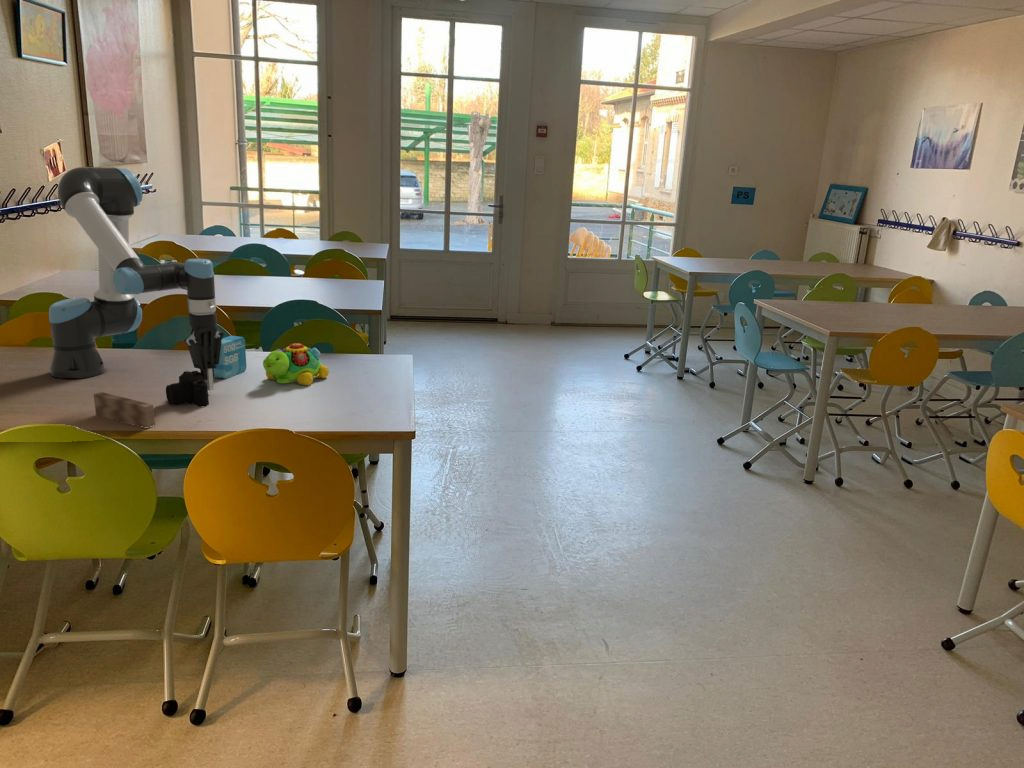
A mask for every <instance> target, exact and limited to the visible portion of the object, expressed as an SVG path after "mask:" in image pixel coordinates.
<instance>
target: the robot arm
mask: <svg viewBox="0 0 1024 768" xmlns="http://www.w3.org/2000/svg"><path fill="white" fill-rule="evenodd" d="M57 197H58V201H59V203H60V206H61V207H62V208H63V209H64V210H63V211H65V212H66V214H67V215H69V216H70V217H71V218H74V219H75V220H76V221H77V223H78V224H79V225H80V227H81V228H82V229H83V230H84V232H85V233H86V235H87V236H88V237H89V238H90V240H91V242H93V244H94V246H95V247H96V248H97V249H98V250H97V251H98V252H97V253H98V255H97V257H98V289H97V290H96V291H94V292H93V301H91V300H90V299H89V298H87V297H76V298H65V299H62V300H59V301H56V302H54V303H52V304H51V305H50V306H49V308H48V321H49V326H50V332H51V338H52V339H51V340H52V347H53V354H52V359H51V363H50V367H49V369H50V370H49V371H50V375H52V376H54V377H53V378H55V377H58V378H57V379H61V378H77V379H85V378H91V377H94V376H98V375H100V374H103V373H104V372H105V371H106V370H105V369H106V368H105V364H104V361H103V359H102V357H101V355H100V354H99V353H100V352H98V349H97V345H96V338H102V337H107V336H108V337H109V336H113V335H114V336H116V335H123V334H126V333H130V332H134V331H136V329H138V328H139V327H140V325H141V323H142V321H143V310H142V307H141V303H140V301H139V300H138V298H136V297H135V295H139V294H145V293H146V294H147V293H153V292H154V293H155V292H162V291H169V290H177V289H178V290H185V291H186V295H187V306H188V307H187V309H188V312H189V314H188V321H189V326H190V327H191V331H190V336H189V337H188V338H184V339H183V340H184V343H185V344H186V346H187V348H188V352H189V355H190V359H191V361H192V365H193V368H195V369H199V370H200V371H199V372H200V373H201V376H202V377H203V378H204V380H205V382H206V383H207V386H208V391H212V390H214V388H215V385H214V378H215V377H214V368H216V366H215V365H216V364H219V359H220V350H221V341H222V338H224V335H225V333H224V332H221V331H219V330H218V328H217V327H216V326H217V325H218V318H217V313H216V310H217V305H216V303H217V302H216V290H215V272H214V265H213V262H212V261H211V260H210V259H207V258H188V259H186V260H185V261H184V262H179V261H175V260H174V261H170V260H169V261H164V262H163V263H161V264H152V265H145V263H143V261H142V260H141V258H140V257H139V256H138V255H137V253H136V252H135V251H134V249H133V248H132V247H131V245H130V241H129V238H130V237H129V236H130V232H129V231H130V230H129V228H130V227H129V223H130V222H129V219H130V218H131V217H132V216H134V214H135V208H136V207H138V206H140V205H141V203H142V201H143V189H142V186H141V183H140V181H139V179H138V178H137V176H136V175H135V174H134V172H133V171H131V170H129V169H127V168H121V167H114V166H112V167H109V166H108V167H85V166H80V167H74V168H72V169H70V170H68V171H67V172H65V173H64V175H63V176H62V177H61V178H60V180H59V183H58V186H57ZM52 376H51V377H52Z"/></svg>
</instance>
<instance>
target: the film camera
mask: <svg viewBox="0 0 1024 768" xmlns="http://www.w3.org/2000/svg"><path fill="white" fill-rule="evenodd" d="M165 394H166V395H165V396H166V399H167V402H168V404H169V405H171V406H172V405H174V406H177V405H184V404H187V403H188V404H187V405H195V406H196V405H197V406H196V407H198V406H199V407H198V408H201V406H204V407H207V405H208V406H209V405H210V400H209V390H208V386H207V383H206V382H205V380H204V378H203V377H202V376H201V372H200V371H199V370H192V371H188V370H186V371H183V372H182V373H181V374H180V375H179V376H178V382H176V383H170V384H167V385H166V387H165ZM192 403H193V404H192Z"/></svg>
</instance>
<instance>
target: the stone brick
mask: <svg viewBox="0 0 1024 768" xmlns="http://www.w3.org/2000/svg"><path fill="white" fill-rule="evenodd" d="M93 401H94V408H95V415H96V416H98V417H101V416H102V418H106V419H109V418H110V419H111V420H113V419H114V420H113V421H117V420H118V422H120V421H122V423H124V422H126V423H125V424H128V423H130V424H129V425H132V424H134V425H133V426H135V425H138V426H137V427H139V426H143V427H150V426H153V425H155V426H156V421H155V412H154V411H155V410H154V404H152V403H147V402H144V401H140V400H136V399H132V398H128V397H123V396H120V395H115V394H111V393H107V392H103V391H100V392H97V393H93ZM143 427H142V428H143Z"/></svg>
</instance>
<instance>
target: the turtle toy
mask: <svg viewBox="0 0 1024 768" xmlns="http://www.w3.org/2000/svg"><path fill="white" fill-rule="evenodd" d="M320 356H321V352H320V350H318V349H317V348H316V347H312V348H311V347H307V346H305V345H304V344H302V343H300V342H298V343H297V342H295V343H291V344H289V346H286V347H285V348H283V349H280V348H276V349H275V350H273V351H271V352H270V353H269V354H267V356H266V357H265V358H263V361H262V365H263V369H264V370H265V376H266V378H267V379H269V380H273V381H276V382H277V383H279V384H289V383H295V382H297V383H298V384H299V385H300V384H301V385H302V386H306V385H308V386H310V385H312V383H313V381H314V379H326V378H327V377H328V376H329V374H330V369H329V368H328V367H329V366H327V365H323V364H322V362H321V361H320V358H319V357H320Z"/></svg>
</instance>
